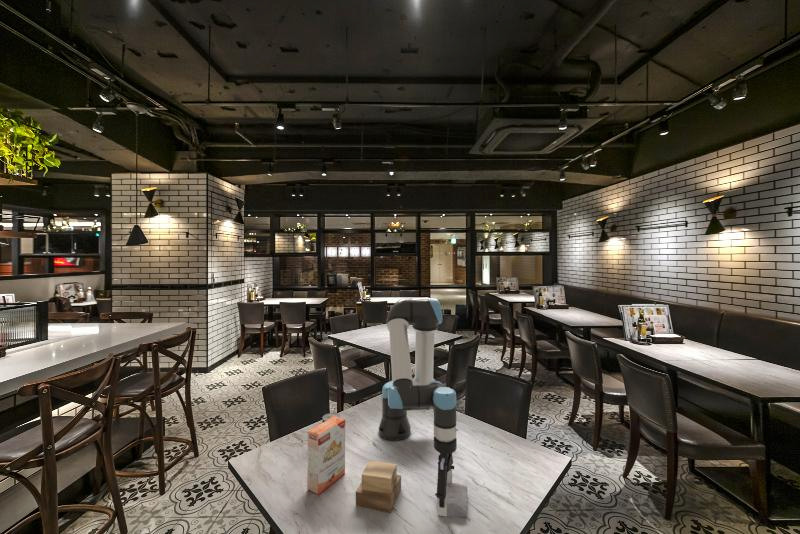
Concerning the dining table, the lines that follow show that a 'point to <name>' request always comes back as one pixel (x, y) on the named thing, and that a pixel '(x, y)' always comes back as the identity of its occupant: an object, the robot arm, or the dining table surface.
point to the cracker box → (326, 454)
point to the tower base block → (378, 498)
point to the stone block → (456, 500)
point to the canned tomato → (329, 416)
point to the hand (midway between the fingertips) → (445, 501)
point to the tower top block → (379, 477)
